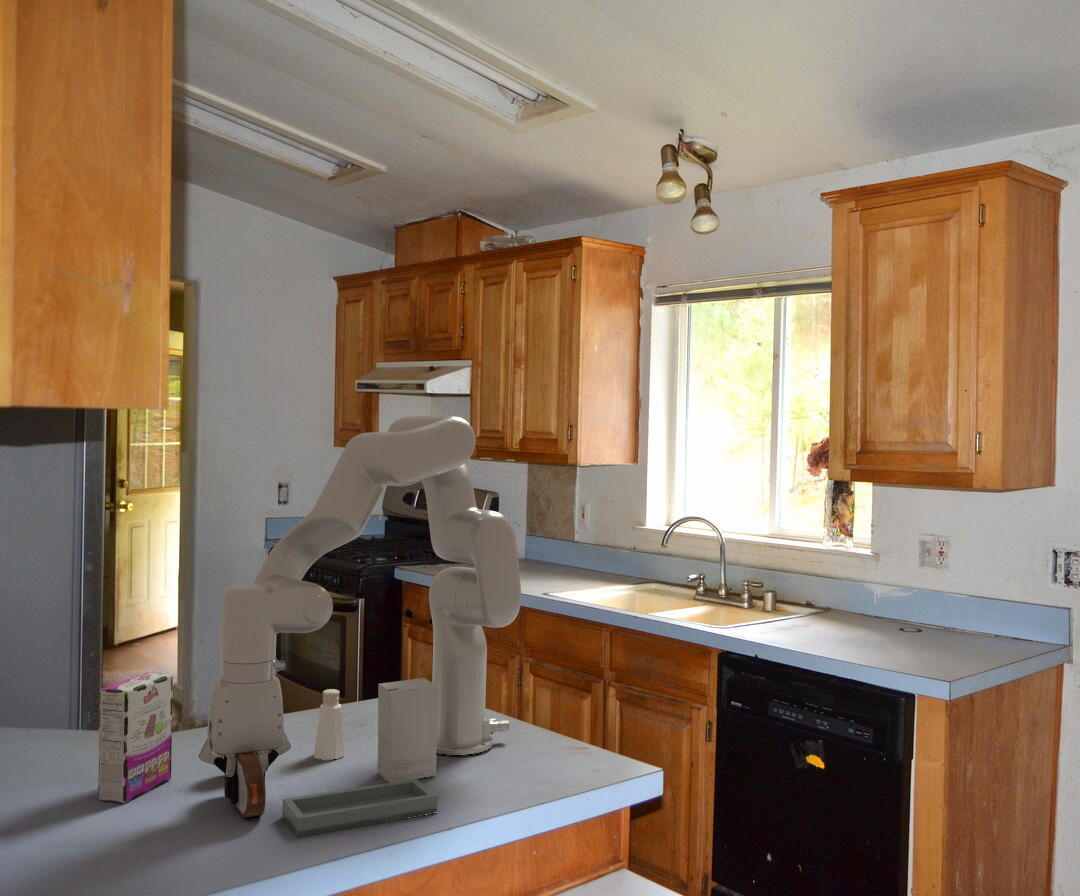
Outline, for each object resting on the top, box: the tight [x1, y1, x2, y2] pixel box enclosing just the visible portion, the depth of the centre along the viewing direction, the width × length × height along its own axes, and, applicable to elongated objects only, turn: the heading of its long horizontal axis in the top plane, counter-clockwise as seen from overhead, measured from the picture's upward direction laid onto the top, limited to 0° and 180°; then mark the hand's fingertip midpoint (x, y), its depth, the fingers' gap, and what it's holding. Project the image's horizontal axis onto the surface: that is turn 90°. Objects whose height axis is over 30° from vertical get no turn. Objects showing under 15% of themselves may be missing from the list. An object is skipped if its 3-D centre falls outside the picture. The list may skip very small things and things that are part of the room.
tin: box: [234, 752, 267, 819], centre depth 136 cm, size 15×3×8 cm, turn 29°
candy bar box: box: [97, 672, 174, 804], centre depth 142 cm, size 11×5×16 cm, turn 167°
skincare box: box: [377, 677, 437, 783], centre depth 151 cm, size 8×6×15 cm
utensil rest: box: [281, 779, 438, 838], centre depth 134 cm, size 20×8×2 cm, turn 119°
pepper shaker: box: [313, 688, 345, 761], centre depth 160 cm, size 5×5×11 cm
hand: (244, 798), depth 136 cm, fingers closed on tin, 2 cm apart
